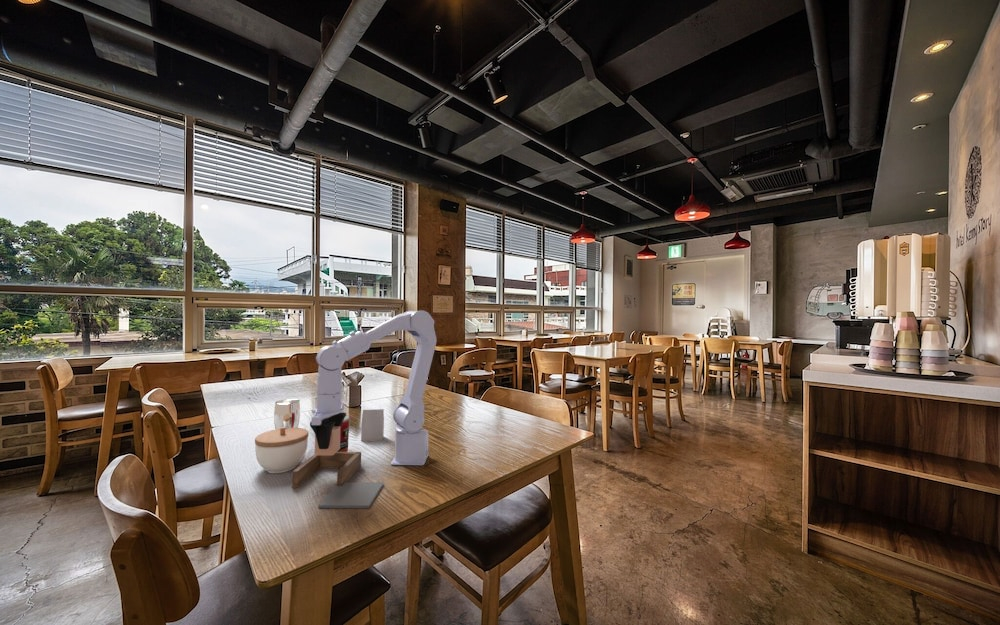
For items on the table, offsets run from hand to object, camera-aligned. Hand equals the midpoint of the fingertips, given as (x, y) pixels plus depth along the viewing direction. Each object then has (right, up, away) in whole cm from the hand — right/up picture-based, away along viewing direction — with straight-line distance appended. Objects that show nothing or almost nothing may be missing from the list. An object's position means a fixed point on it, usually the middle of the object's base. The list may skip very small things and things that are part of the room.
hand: (328, 444), depth 94 cm
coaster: (+10, -9, -9) cm, 16 cm away
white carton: (-22, -8, +18) cm, 30 cm away
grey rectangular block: (+1, -9, +30) cm, 31 cm away
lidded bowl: (-15, -9, +6) cm, 18 cm away
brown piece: (0, -9, +1) cm, 9 cm away
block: (0, -2, 0) cm, 2 cm away
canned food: (-6, -9, +16) cm, 19 cm away
